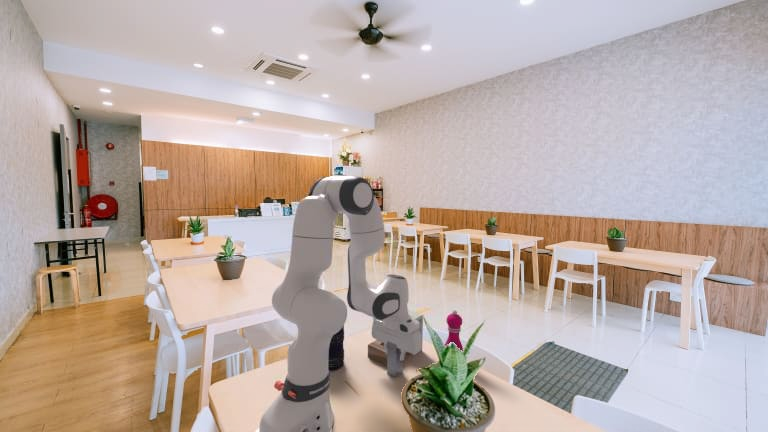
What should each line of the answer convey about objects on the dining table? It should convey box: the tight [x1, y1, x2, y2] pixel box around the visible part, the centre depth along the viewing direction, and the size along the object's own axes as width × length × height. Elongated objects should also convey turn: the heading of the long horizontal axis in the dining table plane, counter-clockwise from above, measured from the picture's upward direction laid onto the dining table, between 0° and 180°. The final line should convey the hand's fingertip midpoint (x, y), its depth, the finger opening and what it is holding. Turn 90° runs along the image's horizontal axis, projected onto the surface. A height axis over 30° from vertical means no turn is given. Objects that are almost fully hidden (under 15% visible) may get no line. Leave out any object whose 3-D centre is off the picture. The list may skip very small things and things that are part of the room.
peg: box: [386, 341, 404, 379], centre depth 112 cm, size 4×4×12 cm
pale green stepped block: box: [408, 309, 424, 353], centre depth 131 cm, size 6×16×16 cm, turn 51°
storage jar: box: [328, 325, 345, 372], centre depth 117 cm, size 10×10×15 cm
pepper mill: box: [444, 309, 464, 352], centre depth 121 cm, size 7×7×20 cm
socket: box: [367, 339, 412, 366], centre depth 125 cm, size 14×12×5 cm
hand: (395, 356), depth 112 cm, fingers closed on peg, 4 cm apart
